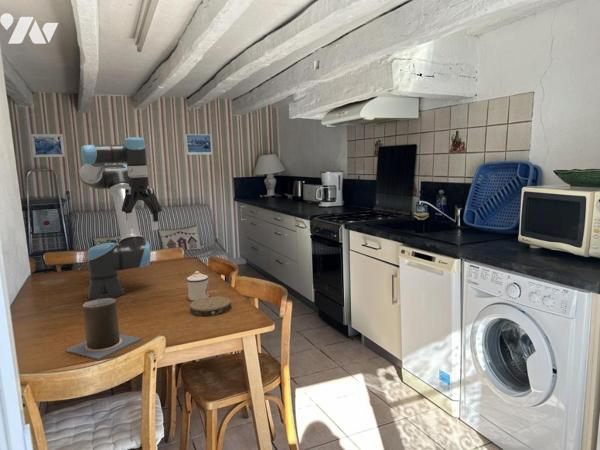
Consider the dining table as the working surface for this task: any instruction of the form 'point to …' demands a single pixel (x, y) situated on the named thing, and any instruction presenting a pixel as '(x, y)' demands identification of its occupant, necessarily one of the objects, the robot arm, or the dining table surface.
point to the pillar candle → (101, 323)
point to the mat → (104, 352)
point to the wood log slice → (210, 306)
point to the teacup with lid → (197, 286)
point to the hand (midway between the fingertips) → (143, 229)
